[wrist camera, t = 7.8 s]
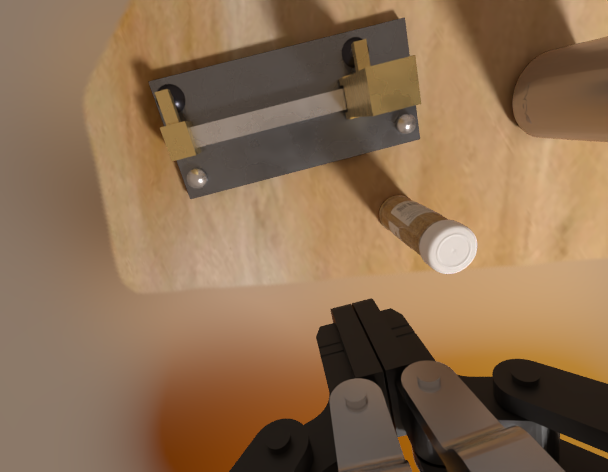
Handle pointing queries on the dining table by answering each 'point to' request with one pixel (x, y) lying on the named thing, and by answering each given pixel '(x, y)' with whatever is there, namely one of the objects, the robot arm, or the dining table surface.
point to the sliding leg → (379, 84)
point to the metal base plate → (278, 90)
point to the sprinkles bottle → (429, 234)
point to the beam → (239, 121)
